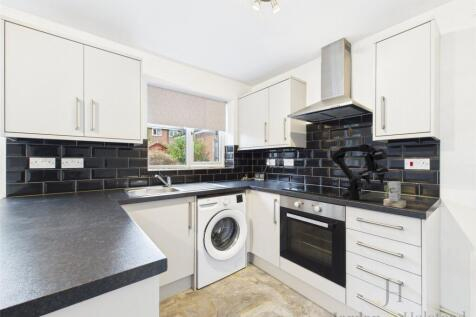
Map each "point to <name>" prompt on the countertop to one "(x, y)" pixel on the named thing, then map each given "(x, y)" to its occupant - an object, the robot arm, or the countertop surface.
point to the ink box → (394, 190)
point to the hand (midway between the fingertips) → (375, 184)
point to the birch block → (395, 203)
